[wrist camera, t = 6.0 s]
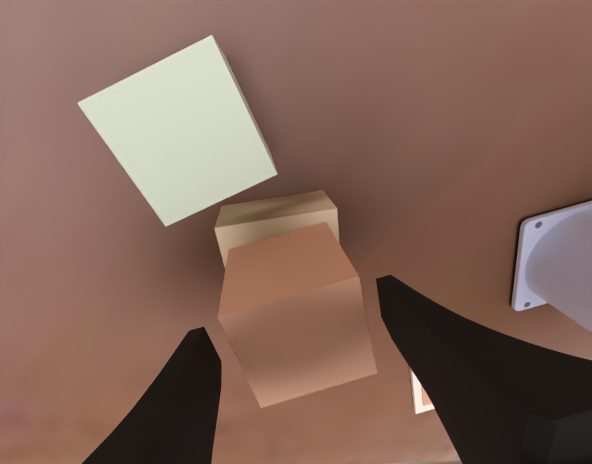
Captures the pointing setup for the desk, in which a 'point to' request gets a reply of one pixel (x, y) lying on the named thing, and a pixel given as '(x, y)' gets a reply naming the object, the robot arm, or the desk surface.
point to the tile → (419, 396)
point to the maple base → (272, 218)
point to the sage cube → (183, 131)
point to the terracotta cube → (295, 314)
